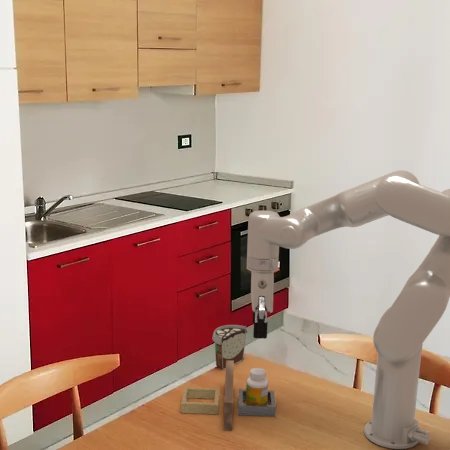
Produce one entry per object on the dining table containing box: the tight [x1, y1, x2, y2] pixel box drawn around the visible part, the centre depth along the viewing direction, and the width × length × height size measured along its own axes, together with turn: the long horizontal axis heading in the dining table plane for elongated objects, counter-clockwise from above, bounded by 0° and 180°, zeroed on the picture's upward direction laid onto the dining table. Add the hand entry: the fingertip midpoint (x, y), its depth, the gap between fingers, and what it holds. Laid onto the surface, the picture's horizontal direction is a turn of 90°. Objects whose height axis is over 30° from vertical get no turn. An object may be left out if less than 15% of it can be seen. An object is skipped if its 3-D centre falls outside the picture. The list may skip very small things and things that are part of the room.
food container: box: [211, 324, 248, 371], centre depth 202 cm, size 12×6×10 cm, turn 141°
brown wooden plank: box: [222, 360, 235, 431], centre depth 176 cm, size 2×24×7 cm, turn 179°
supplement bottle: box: [245, 367, 269, 405], centre depth 176 cm, size 5×5×10 cm
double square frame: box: [180, 386, 277, 417], centre depth 176 cm, size 23×9×2 cm, turn 89°
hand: (259, 330), depth 172 cm, fingers open, 9 cm apart
